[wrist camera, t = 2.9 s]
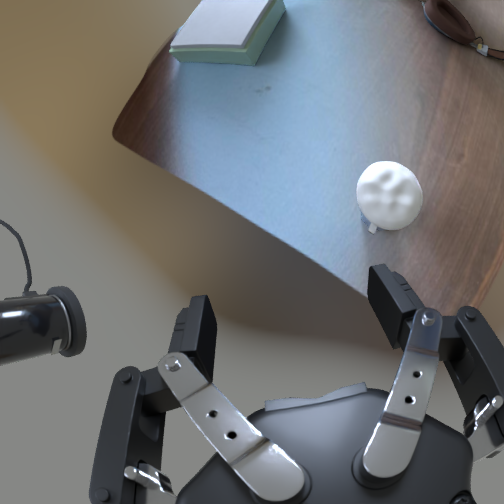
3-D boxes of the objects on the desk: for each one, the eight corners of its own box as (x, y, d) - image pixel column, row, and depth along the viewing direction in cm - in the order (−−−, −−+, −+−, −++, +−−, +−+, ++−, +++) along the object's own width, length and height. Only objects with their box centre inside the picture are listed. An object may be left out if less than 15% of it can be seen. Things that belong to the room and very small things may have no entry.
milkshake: (340, 228, 25) (337, 211, 15) (367, 180, 24) (378, 138, 14) (380, 254, 24) (402, 254, 14) (407, 205, 23) (441, 177, 13)
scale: (177, 62, 32) (163, 49, 28) (212, 9, 30) (202, -6, 27) (254, 66, 28) (243, 48, 24) (286, 8, 26) (279, -10, 23)
